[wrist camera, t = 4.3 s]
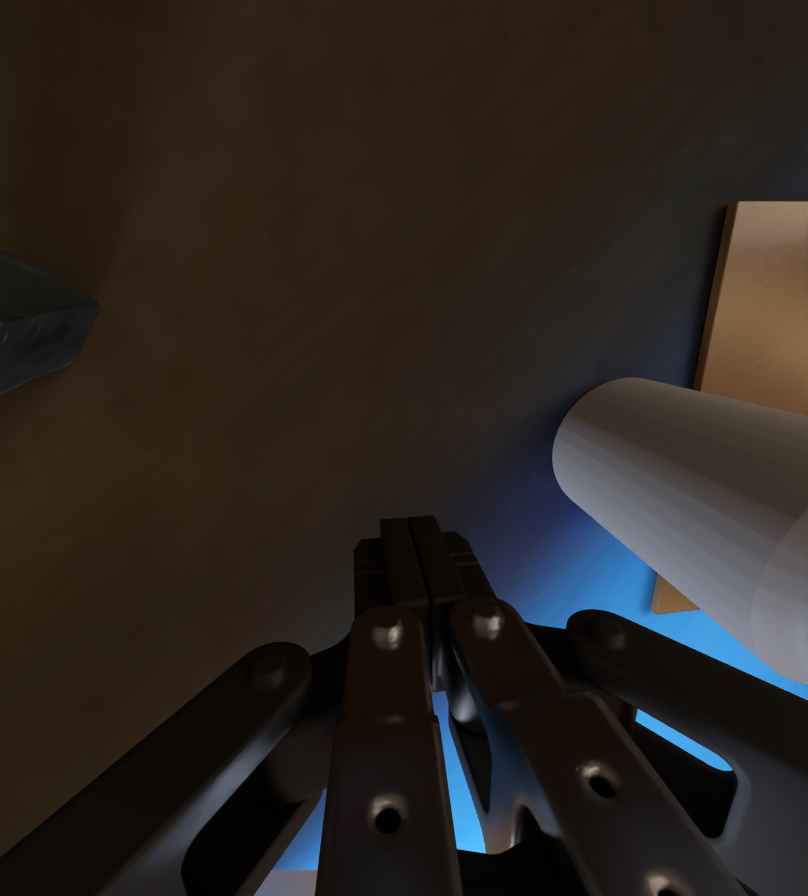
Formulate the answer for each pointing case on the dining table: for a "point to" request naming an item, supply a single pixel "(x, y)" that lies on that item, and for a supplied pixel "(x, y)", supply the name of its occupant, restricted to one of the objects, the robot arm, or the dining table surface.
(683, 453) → the beverage can
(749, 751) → the robot arm
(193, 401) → the dining table surface
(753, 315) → the cork mat
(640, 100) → the dining table surface
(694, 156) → the dining table surface
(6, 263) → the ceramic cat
